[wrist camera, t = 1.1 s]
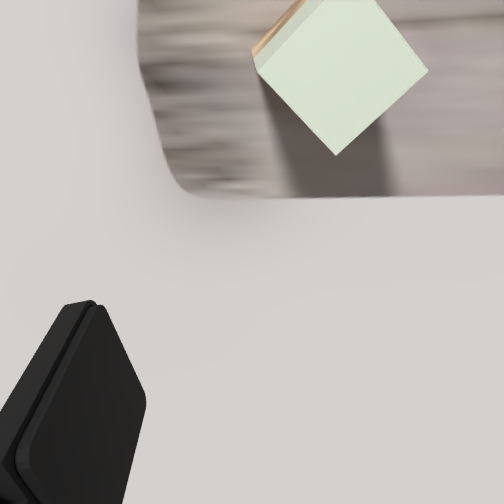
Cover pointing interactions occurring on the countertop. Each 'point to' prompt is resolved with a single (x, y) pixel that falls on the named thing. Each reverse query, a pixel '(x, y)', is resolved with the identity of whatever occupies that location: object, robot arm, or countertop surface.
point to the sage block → (339, 67)
